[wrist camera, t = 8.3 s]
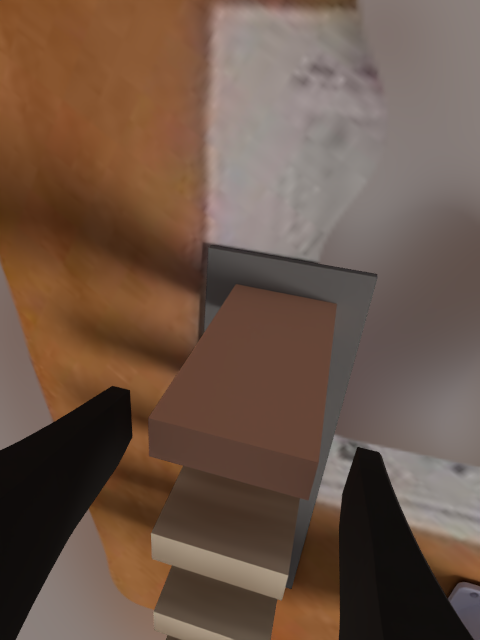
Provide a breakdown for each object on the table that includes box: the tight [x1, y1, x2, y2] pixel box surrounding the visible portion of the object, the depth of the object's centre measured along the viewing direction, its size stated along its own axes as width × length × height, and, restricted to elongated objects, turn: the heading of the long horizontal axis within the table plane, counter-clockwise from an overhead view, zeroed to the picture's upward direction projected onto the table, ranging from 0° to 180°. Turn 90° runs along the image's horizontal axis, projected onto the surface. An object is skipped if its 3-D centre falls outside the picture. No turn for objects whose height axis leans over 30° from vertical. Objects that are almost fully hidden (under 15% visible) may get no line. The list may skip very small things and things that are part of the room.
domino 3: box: [154, 565, 277, 640], centre depth 22 cm, size 2×5×10 cm, turn 85°
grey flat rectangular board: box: [204, 245, 377, 589], centre depth 26 cm, size 8×26×1 cm, turn 175°
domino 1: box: [148, 284, 337, 500], centre depth 16 cm, size 2×5×10 cm, turn 85°
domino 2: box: [151, 466, 300, 600], centre depth 19 cm, size 2×5×10 cm, turn 85°
